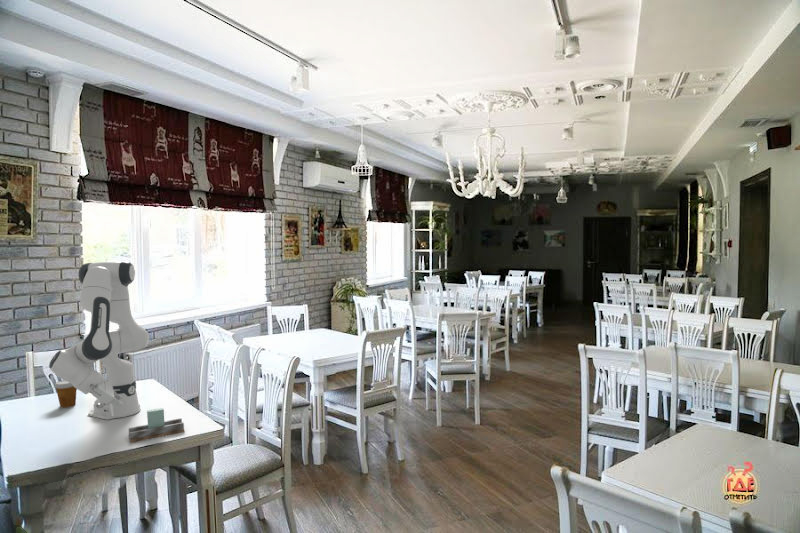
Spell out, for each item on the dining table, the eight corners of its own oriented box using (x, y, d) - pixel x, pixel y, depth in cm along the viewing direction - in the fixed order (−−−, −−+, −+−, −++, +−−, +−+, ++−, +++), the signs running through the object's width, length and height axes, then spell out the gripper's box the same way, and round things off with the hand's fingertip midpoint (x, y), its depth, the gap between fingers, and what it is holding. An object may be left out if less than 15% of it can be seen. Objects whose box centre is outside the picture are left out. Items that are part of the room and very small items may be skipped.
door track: (130, 443, 209) (129, 434, 208) (128, 435, 216) (128, 427, 216) (184, 432, 219) (184, 423, 218) (181, 425, 226) (180, 417, 226)
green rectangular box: (148, 433, 215) (147, 412, 214) (148, 432, 217) (147, 410, 216) (164, 430, 218) (163, 409, 217) (164, 428, 220) (162, 407, 219)
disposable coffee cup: (83, 404, 259) (81, 380, 258) (62, 410, 251) (60, 385, 250) (73, 401, 264) (71, 377, 263) (52, 407, 256) (50, 382, 255)
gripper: (97, 381, 197) (128, 402, 202) (96, 370, 214) (125, 389, 220) (83, 395, 195) (115, 416, 200) (84, 382, 212) (113, 402, 218)
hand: (120, 402), depth 210 cm, fingers open, 8 cm apart
